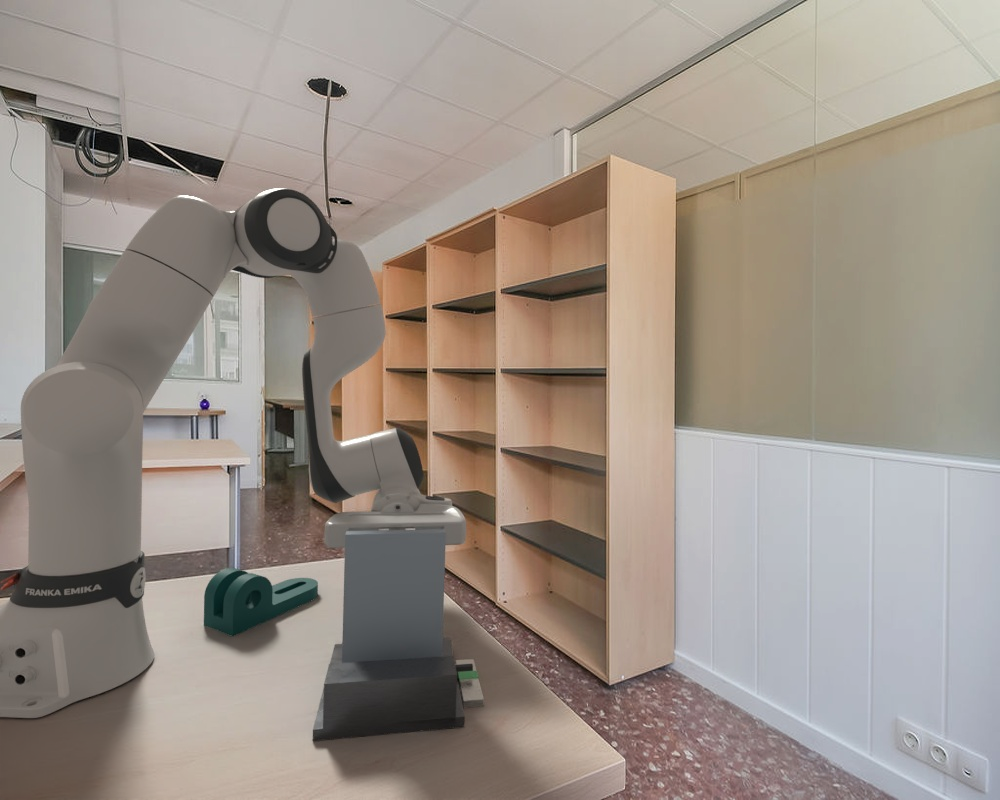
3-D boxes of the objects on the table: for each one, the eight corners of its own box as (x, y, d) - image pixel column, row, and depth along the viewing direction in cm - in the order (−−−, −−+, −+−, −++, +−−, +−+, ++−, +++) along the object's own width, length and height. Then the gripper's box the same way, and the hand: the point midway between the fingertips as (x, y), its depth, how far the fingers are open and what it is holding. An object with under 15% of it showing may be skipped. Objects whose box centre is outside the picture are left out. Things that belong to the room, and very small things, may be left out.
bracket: (232, 637, 76) (233, 584, 75) (203, 626, 79) (204, 575, 78) (325, 595, 92) (326, 551, 91) (298, 587, 95) (299, 544, 94)
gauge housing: (312, 741, 54) (313, 684, 54) (334, 652, 72) (335, 610, 72) (488, 725, 58) (490, 672, 58) (468, 644, 75) (469, 604, 75)
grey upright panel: (341, 682, 62) (345, 534, 62) (342, 675, 64) (346, 531, 63) (473, 673, 65) (477, 532, 65) (471, 667, 67) (476, 528, 66)
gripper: (330, 499, 81) (315, 523, 67) (460, 498, 85) (471, 520, 71) (329, 539, 81) (314, 571, 68) (459, 536, 85) (470, 565, 71)
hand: (396, 545), depth 69 cm, fingers closed
